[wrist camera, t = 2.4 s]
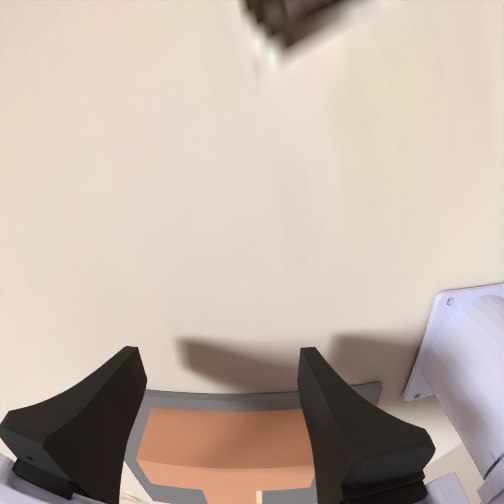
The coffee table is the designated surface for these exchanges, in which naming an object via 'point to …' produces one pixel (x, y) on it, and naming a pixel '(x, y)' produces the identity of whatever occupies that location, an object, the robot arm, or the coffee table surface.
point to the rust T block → (227, 452)
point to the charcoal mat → (193, 500)
